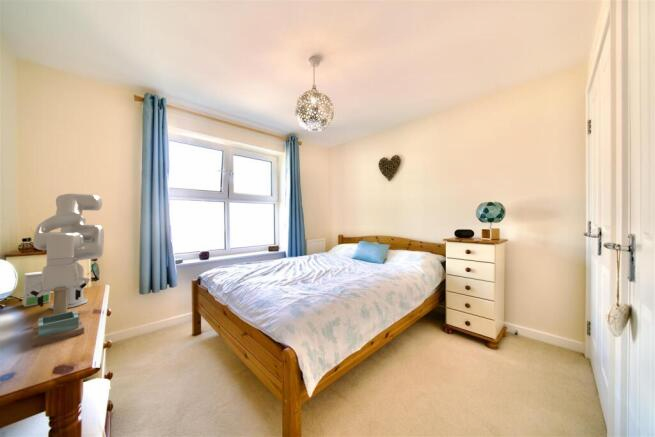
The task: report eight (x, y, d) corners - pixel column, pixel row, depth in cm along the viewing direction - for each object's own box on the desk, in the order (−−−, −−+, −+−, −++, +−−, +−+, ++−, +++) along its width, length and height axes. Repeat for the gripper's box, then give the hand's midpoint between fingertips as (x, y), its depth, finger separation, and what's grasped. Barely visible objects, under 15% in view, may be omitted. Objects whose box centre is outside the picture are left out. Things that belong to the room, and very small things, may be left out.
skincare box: (24, 307, 110) (24, 275, 110) (22, 304, 113) (22, 273, 113) (51, 302, 117) (51, 271, 117) (48, 299, 120) (49, 270, 120)
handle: (49, 325, 92) (50, 288, 92) (52, 320, 97) (53, 285, 97) (67, 321, 96) (67, 286, 96) (69, 316, 100) (70, 283, 100)
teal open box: (32, 333, 86) (33, 317, 86) (79, 322, 95) (79, 308, 95) (32, 346, 77) (32, 329, 77) (83, 333, 87) (84, 317, 87)
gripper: (88, 258, 105) (88, 295, 105) (26, 264, 92) (26, 306, 91) (91, 260, 101) (90, 298, 100) (26, 266, 87) (25, 311, 87)
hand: (59, 302), depth 96 cm, fingers open, 9 cm apart
